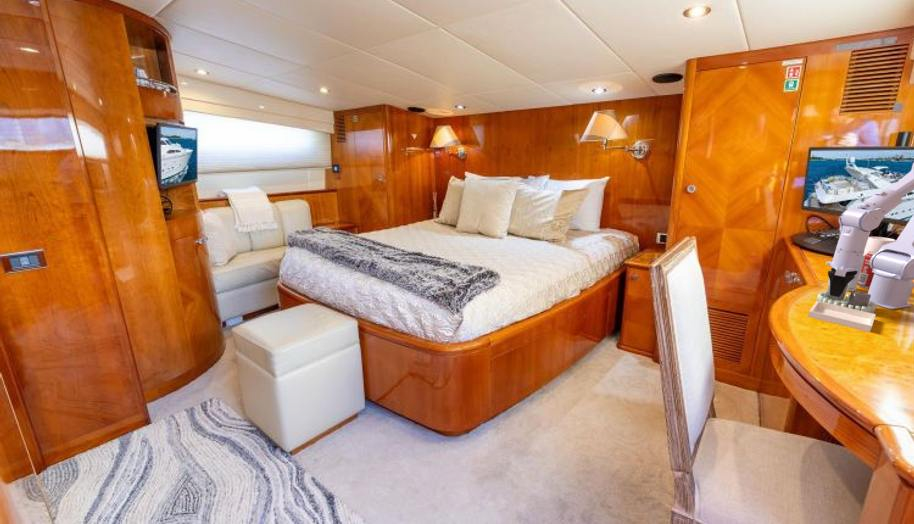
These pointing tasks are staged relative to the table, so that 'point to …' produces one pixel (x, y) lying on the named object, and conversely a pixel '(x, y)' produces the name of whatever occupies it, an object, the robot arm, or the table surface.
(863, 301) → the pebble charcoal
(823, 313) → the parts tray
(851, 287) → the skincare box
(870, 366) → the table surface
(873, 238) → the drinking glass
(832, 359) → the table surface
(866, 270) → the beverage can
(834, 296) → the pebble slate
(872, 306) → the celadon bowl
